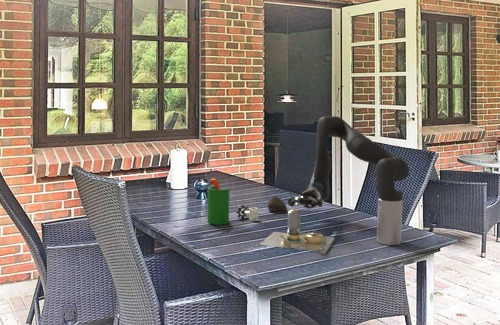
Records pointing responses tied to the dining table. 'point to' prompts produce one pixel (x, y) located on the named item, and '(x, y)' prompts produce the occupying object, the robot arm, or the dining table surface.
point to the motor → (218, 204)
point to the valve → (248, 213)
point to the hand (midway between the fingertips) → (301, 204)
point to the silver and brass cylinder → (293, 225)
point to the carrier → (300, 242)
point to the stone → (276, 204)
